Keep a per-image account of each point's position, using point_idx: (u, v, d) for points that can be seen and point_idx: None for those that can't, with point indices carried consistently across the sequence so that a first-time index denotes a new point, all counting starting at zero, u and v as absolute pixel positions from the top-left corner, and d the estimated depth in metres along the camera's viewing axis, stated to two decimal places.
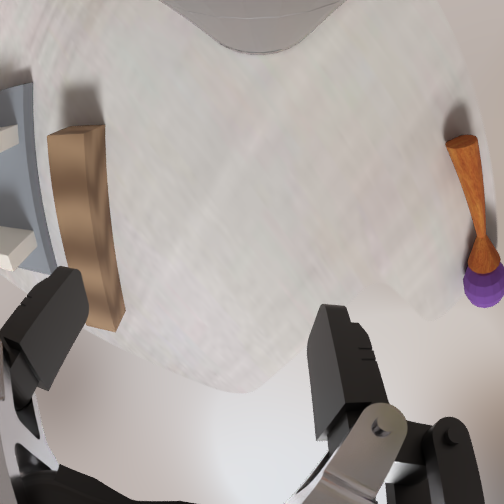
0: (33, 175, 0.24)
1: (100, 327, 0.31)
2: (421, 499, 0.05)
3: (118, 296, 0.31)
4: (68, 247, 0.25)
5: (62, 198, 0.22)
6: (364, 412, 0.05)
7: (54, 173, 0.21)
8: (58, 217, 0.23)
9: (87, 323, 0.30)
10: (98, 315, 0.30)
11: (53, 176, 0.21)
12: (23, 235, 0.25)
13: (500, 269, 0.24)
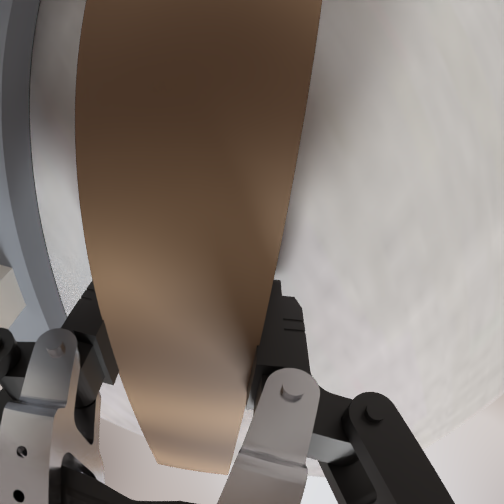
0: (15, 104, 0.07)
1: (192, 469, 0.13)
2: (366, 476, 0.05)
3: None
4: (129, 350, 0.07)
5: (123, 156, 0.05)
6: (273, 374, 0.06)
7: (104, 29, 0.03)
8: (92, 246, 0.06)
9: (161, 463, 0.13)
10: (196, 460, 0.12)
11: (90, 46, 0.04)
12: None
13: None
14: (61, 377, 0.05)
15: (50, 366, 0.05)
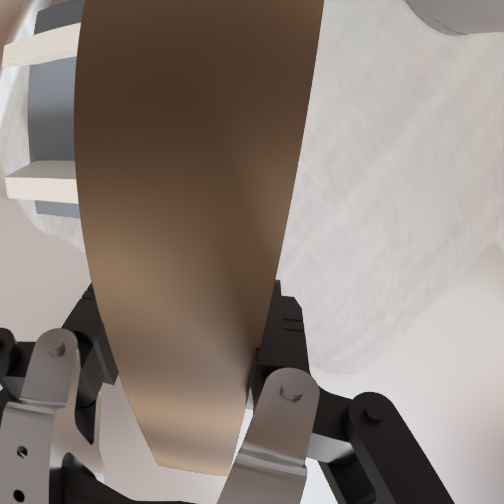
0: None
1: (192, 470, 0.13)
2: (366, 476, 0.05)
3: None
4: (129, 354, 0.07)
5: (123, 160, 0.05)
6: (272, 374, 0.06)
7: (103, 31, 0.03)
8: (91, 251, 0.06)
9: (161, 464, 0.13)
10: (196, 462, 0.12)
11: (89, 49, 0.04)
12: None
13: None
14: (62, 377, 0.05)
15: (50, 366, 0.05)
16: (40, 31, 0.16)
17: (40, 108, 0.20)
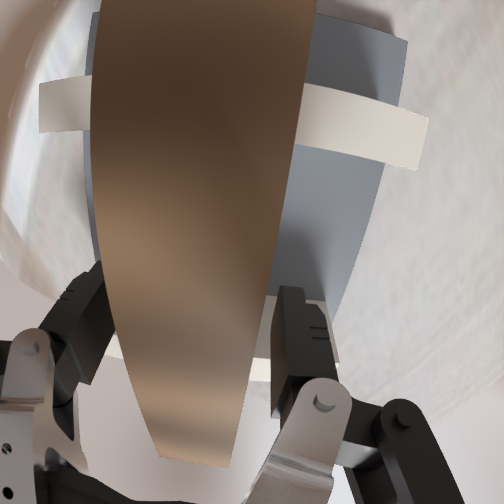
0: None
1: (193, 462, 0.13)
2: (387, 482, 0.05)
3: None
4: (135, 338, 0.08)
5: (135, 153, 0.05)
6: (306, 385, 0.06)
7: (117, 37, 0.04)
8: (103, 237, 0.06)
9: (163, 455, 0.13)
10: (197, 452, 0.12)
11: (104, 53, 0.04)
12: None
13: None
14: (33, 376, 0.05)
15: (26, 365, 0.05)
16: None
17: None
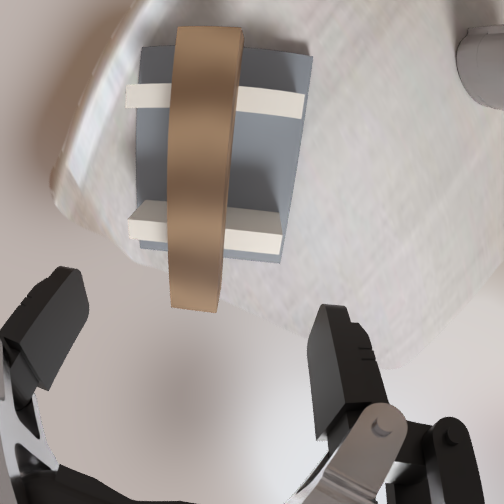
0: None
1: (193, 308, 0.25)
2: (421, 499, 0.05)
3: (221, 264, 0.26)
4: (175, 184, 0.20)
5: (185, 109, 0.17)
6: (364, 412, 0.05)
7: (180, 74, 0.16)
8: (170, 137, 0.18)
9: (173, 304, 0.25)
10: (196, 290, 0.24)
11: (176, 78, 0.16)
12: (272, 216, 0.29)
13: None
14: None
15: None
16: (148, 70, 0.23)
17: (152, 150, 0.27)
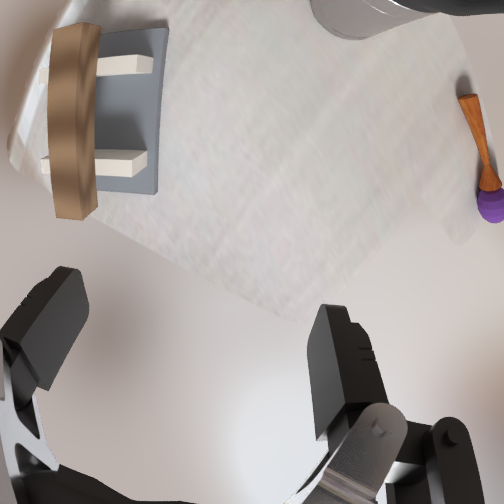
0: (159, 101, 0.32)
1: (68, 217, 0.29)
2: (421, 499, 0.05)
3: (90, 185, 0.30)
4: (51, 125, 0.24)
5: (55, 77, 0.21)
6: (364, 412, 0.05)
7: (53, 57, 0.20)
8: (48, 96, 0.22)
9: (57, 214, 0.29)
10: (68, 201, 0.28)
11: (51, 60, 0.20)
12: (138, 152, 0.33)
13: (503, 191, 0.32)
14: None
15: None
16: None
17: None
